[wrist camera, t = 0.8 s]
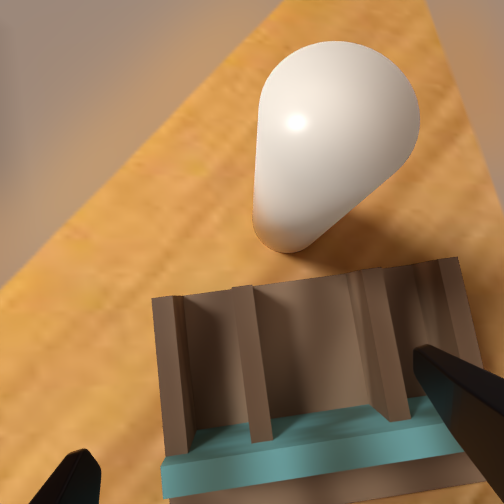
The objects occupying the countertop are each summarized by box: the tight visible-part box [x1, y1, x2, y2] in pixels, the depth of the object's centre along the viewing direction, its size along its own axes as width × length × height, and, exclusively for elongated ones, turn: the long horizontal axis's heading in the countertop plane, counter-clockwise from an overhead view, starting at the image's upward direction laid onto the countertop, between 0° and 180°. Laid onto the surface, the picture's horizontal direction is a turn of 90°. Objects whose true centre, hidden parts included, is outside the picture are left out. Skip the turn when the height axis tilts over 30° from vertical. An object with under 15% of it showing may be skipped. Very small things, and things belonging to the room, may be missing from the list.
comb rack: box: [152, 257, 486, 504], centre depth 19 cm, size 20×14×5 cm
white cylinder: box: [252, 41, 420, 253], centre depth 16 cm, size 5×5×13 cm
